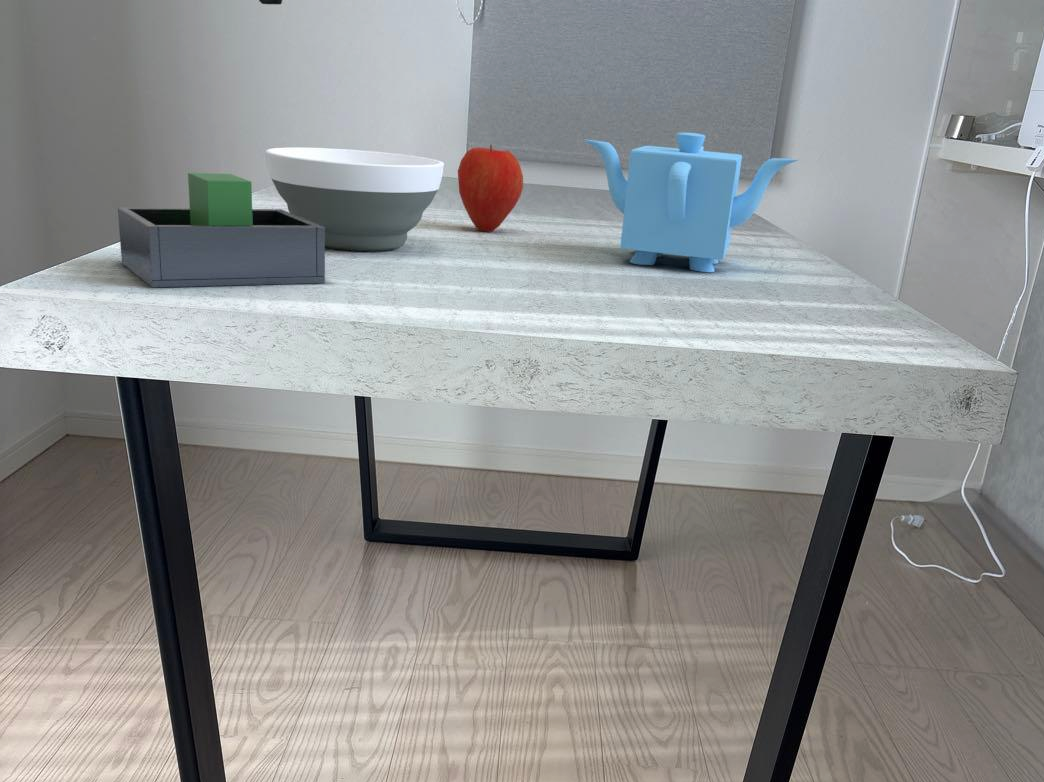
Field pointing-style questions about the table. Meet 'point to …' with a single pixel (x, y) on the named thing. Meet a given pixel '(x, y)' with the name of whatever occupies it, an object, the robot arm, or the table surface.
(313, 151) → the bowl
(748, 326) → the table surface
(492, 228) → the apple
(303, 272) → the grey open box
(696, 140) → the teakettle
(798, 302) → the table surface
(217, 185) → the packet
